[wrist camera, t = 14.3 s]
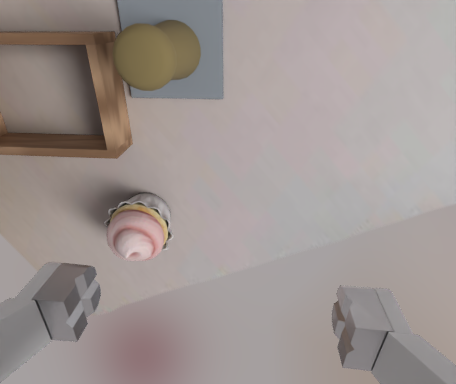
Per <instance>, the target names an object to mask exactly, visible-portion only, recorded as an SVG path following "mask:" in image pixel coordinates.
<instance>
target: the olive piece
mask: <svg viewBox="0 0 456 384" xmlns="http://www.w3.org/2000/svg"><path fill="white" fill-rule="evenodd" d="M112 54H113V61H114V65H115V67H116V70H117V72H118V74H119V75H120V76H121V78H122V79H123V80H124V81H125V82H126V83H127V84H129V85H130V86H131V87H134V88H136V89H139V90H142V91H154V90H157V89H160V88H162V87H163V86H165V85H166V84H167V83H168V82H170V80H180V79H183V78H187V77H188V76H189V75H191V74H192V73H193V72H194V71H195V69H196V68H197V66H198V64H199V61H200V57H201V47H200V44H199V41H198V38H197V36H196V34H195V33H194V31H193V30H192V29H191V28H190V27H189V26H187V25H186V24H185V23H183V22H180V21H178V20H166V21H163V22H160V23H158V24H156V25H154V26H153V25H150V24H141V23H136V24H133V25H130V26H127V27H126V28H125V29H124V30H123V31H122V32H121V33H119V34H118V36H117V38H116V40H115V42H114V46H113V53H112Z"/></svg>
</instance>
